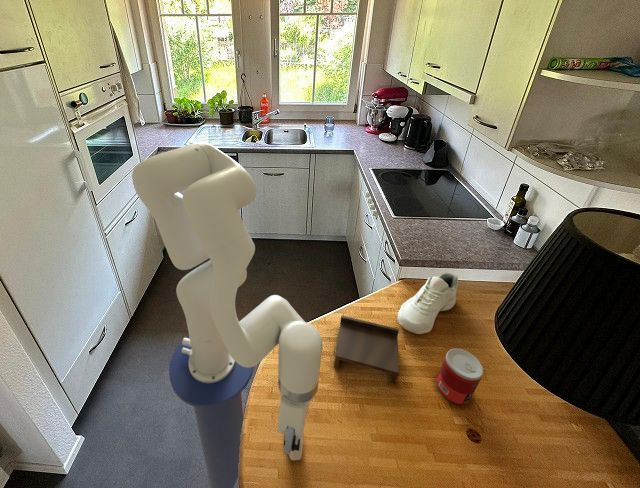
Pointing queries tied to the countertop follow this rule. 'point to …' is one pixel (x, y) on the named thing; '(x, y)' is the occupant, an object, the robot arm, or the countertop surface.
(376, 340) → the shelf
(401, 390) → the countertop surface
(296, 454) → the eye dropper bottle
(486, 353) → the countertop surface
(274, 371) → the countertop surface
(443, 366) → the canned food
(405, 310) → the running shoe
